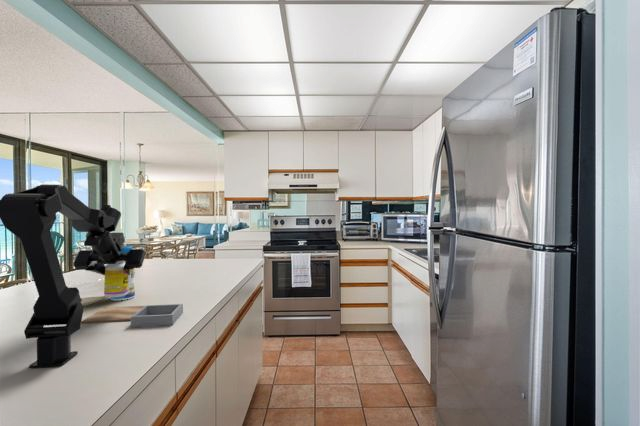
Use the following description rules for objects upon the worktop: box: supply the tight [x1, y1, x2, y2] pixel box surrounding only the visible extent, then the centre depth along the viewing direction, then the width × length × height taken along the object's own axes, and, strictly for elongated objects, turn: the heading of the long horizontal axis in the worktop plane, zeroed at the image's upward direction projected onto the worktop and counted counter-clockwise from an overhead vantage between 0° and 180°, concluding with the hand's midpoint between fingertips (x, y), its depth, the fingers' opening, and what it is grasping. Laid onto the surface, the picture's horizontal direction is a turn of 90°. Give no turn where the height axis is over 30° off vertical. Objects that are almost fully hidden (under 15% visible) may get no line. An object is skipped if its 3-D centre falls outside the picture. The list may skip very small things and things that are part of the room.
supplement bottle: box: [103, 261, 128, 299], centre depth 106 cm, size 7×7×13 cm
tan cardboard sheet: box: [81, 305, 145, 324], centre depth 106 cm, size 14×14×1 cm
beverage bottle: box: [109, 245, 136, 302], centre depth 126 cm, size 8×8×20 cm
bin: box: [130, 303, 184, 328], centre depth 101 cm, size 12×12×3 cm
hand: (118, 274), depth 107 cm, fingers closed on supplement bottle, 6 cm apart
